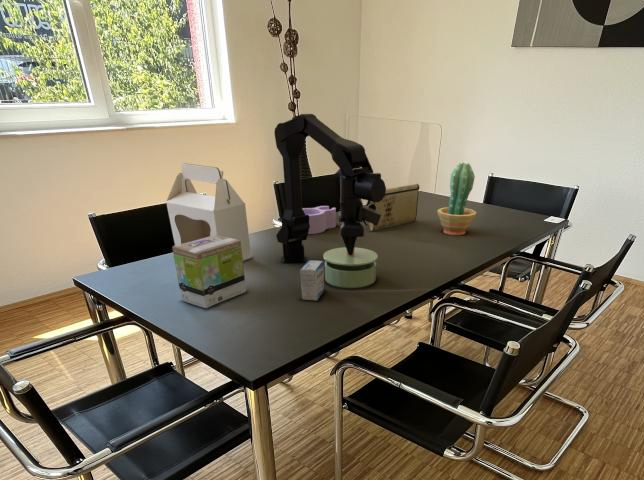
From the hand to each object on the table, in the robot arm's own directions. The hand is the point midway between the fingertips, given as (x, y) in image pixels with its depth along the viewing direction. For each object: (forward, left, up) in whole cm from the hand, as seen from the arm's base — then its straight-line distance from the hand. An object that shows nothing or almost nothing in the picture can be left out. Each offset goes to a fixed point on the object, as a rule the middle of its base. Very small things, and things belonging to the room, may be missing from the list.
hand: (350, 253), depth 137 cm
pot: (0, 0, -8) cm, 8 cm away
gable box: (-45, +23, -8) cm, 51 cm away
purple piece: (-11, +60, -8) cm, 62 cm away
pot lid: (0, 0, -1) cm, 1 cm away
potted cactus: (+45, +54, -8) cm, 71 cm away
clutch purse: (+20, +65, -8) cm, 68 cm away
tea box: (-38, -12, -8) cm, 41 cm away
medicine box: (-11, -12, -8) cm, 18 cm away
